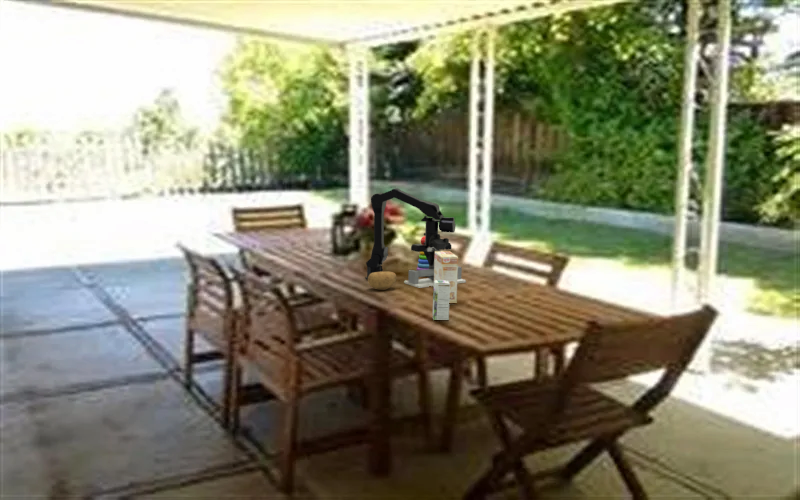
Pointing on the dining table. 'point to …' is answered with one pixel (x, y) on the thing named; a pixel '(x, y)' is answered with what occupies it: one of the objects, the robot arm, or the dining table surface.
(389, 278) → the potato
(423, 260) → the stacking toy
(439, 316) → the syrup box
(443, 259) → the coffeecake box
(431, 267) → the collar
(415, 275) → the pipe rig
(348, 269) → the dining table surface
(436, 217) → the robot arm
